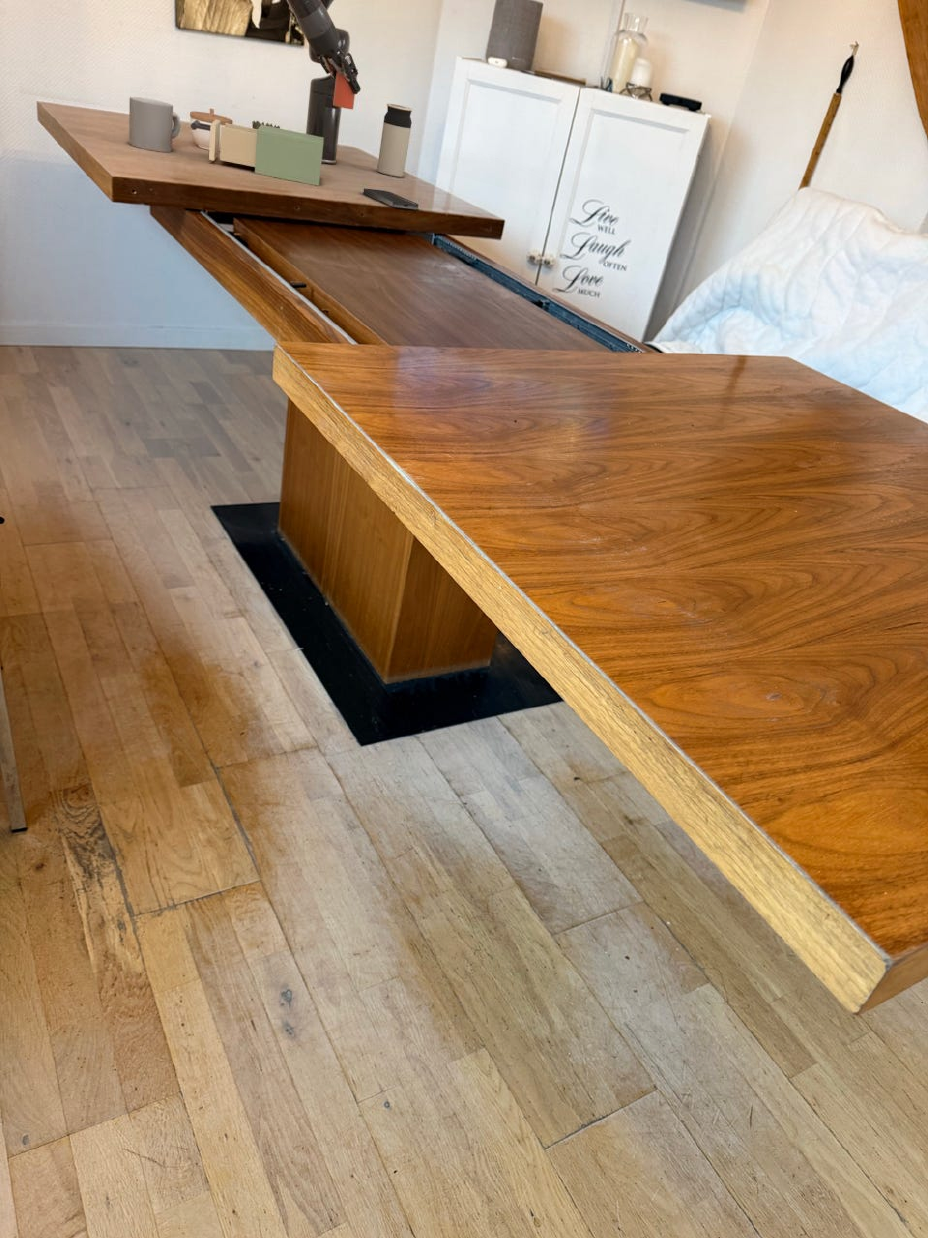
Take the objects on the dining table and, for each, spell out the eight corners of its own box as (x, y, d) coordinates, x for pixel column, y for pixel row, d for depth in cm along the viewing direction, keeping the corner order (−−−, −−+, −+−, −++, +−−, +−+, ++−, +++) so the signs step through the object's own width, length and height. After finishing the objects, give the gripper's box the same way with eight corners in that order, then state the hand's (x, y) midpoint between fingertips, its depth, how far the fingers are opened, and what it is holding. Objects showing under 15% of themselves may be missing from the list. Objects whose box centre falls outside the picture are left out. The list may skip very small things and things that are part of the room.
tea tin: (330, 103, 238) (335, 63, 233) (349, 107, 240) (354, 68, 235) (336, 106, 234) (340, 65, 229) (355, 110, 236) (360, 70, 231)
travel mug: (378, 173, 268) (388, 104, 258) (375, 169, 274) (384, 101, 265) (405, 178, 270) (415, 110, 260) (401, 174, 276) (411, 107, 267)
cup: (274, 159, 249) (277, 127, 245) (247, 154, 249) (249, 121, 244) (279, 157, 256) (282, 125, 251) (253, 151, 255) (255, 119, 251)
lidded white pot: (235, 151, 248) (238, 112, 243) (223, 154, 239) (225, 114, 234) (197, 142, 248) (198, 103, 243) (182, 145, 239) (184, 104, 234)
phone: (388, 190, 234) (420, 204, 225) (387, 195, 235) (419, 209, 225) (361, 187, 229) (393, 201, 220) (361, 192, 230) (392, 206, 221)
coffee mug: (141, 149, 220) (142, 102, 215) (121, 140, 225) (122, 94, 220) (192, 154, 229) (193, 109, 223) (171, 145, 234) (173, 101, 229)
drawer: (188, 155, 220) (189, 119, 216) (194, 149, 230) (195, 115, 226) (269, 171, 224) (272, 136, 220) (272, 165, 234) (274, 131, 230)
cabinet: (254, 173, 224) (257, 129, 219) (257, 166, 234) (260, 124, 229) (318, 185, 227) (323, 142, 222) (319, 178, 237) (323, 137, 232)
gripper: (344, 19, 218) (377, 84, 232) (311, 12, 226) (344, 75, 240) (323, 41, 218) (357, 105, 231) (290, 32, 226) (325, 95, 240)
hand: (350, 89), depth 236 cm, fingers closed on tea tin, 5 cm apart
